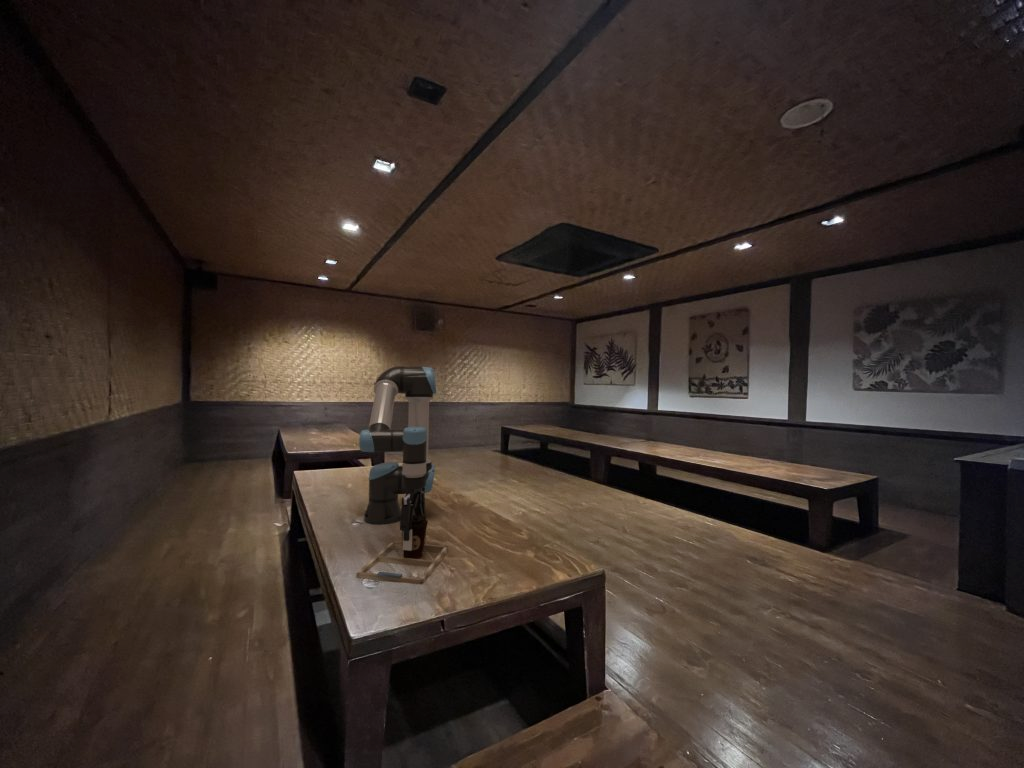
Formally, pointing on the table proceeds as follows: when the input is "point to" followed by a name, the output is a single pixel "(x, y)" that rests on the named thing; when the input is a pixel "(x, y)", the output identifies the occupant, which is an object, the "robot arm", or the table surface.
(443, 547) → the wooden frame
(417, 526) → the coffee cup
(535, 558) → the table surface
